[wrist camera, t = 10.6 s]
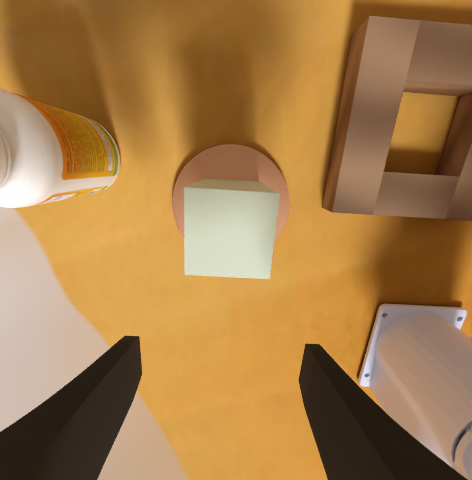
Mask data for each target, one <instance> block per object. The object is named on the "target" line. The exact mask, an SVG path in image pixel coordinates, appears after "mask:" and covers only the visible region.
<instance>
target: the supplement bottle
mask: <svg viewBox="0 0 472 480" xmlns="http://www.w3.org/2000/svg"><path fill="white" fill-rule="evenodd" d="M119 169H120V155H119V150H118V147H117V145H116V143H115V141H114V139H113V138H112V136H111V135H110V134H109V132H108V131H107V130H106V129H105V128H104V127H103V126H101V125H100V124H99V123H97V122H95V121H94V120H92V119H90V118H87V117H85V116H82V115H79V114H76V113H72V112H69V111H66V110H63V109H60V108H57V107H54V106H51V105H48V104H45V103H42V102H39V101H36V100H33V99H30V98H27V97H24V96H21V95H18V94H15V93H12V92H9V91H6V90H2V89H0V207H6V208H18V207H28V206H33V205H38V204H43V203H48V202H53V201H59V200H64V199H69V198H74V197H79V196H84V195H90V194H94V193H98V192H101V191H103V190H105V189H107V188H108V187H110V186H111V185H112V184H113V182H114V181H115V180H116V178H117V176H118V173H119Z"/></svg>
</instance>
